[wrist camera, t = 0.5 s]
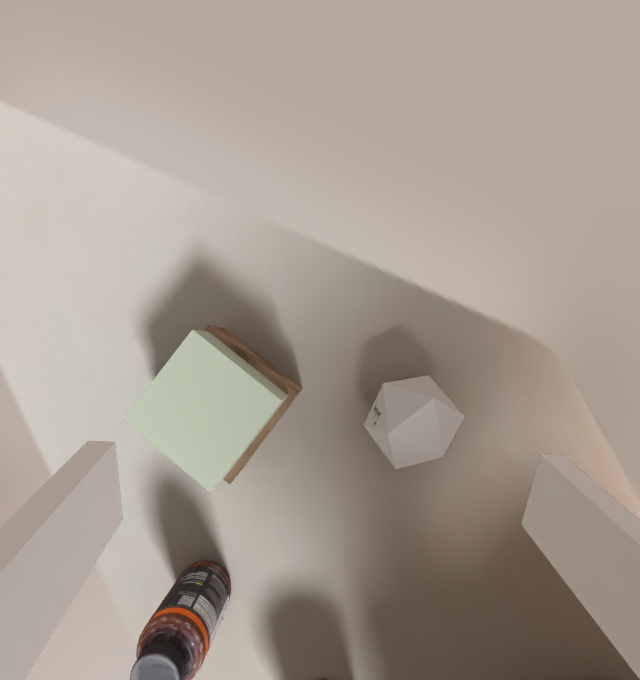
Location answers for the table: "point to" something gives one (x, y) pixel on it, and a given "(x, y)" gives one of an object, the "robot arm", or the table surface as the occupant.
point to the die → (413, 421)
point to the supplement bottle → (183, 625)
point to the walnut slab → (269, 373)
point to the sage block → (205, 408)
